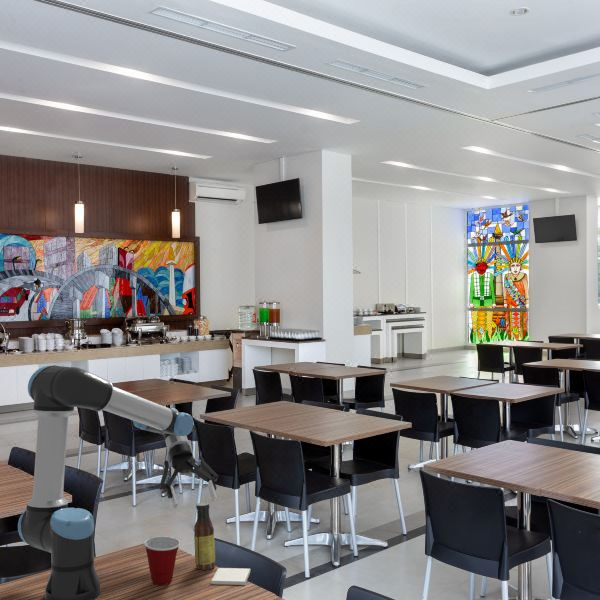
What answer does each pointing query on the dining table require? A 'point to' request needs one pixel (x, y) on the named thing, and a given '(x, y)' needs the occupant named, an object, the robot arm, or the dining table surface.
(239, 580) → the cream pad
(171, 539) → the plastic cup
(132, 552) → the dining table surface
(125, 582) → the dining table surface
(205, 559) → the sauce bottle
